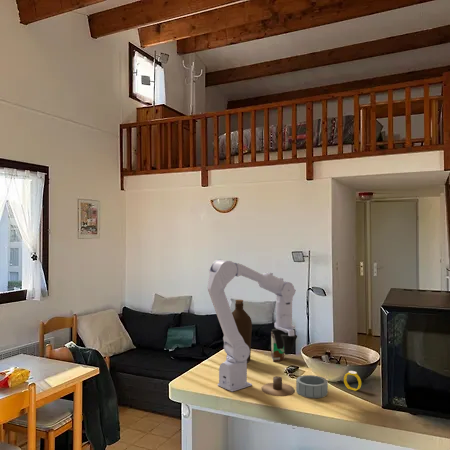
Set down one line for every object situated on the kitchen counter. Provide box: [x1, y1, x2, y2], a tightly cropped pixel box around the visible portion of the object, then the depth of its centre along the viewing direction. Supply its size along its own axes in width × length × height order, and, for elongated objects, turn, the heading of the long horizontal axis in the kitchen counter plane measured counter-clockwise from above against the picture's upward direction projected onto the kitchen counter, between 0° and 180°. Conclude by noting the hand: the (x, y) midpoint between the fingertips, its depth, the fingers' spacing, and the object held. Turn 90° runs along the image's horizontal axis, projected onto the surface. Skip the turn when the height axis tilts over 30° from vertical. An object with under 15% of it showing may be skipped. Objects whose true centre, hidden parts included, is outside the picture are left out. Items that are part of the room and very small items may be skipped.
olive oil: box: [231, 299, 253, 363], centre depth 178 cm, size 11×11×25 cm
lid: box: [260, 375, 295, 397], centre depth 145 cm, size 11×11×4 cm
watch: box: [343, 370, 362, 392], centre depth 146 cm, size 6×3×6 cm, turn 43°
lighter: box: [321, 354, 330, 362], centre depth 156 cm, size 7×2×8 cm, turn 38°
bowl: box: [295, 374, 329, 399], centre depth 143 cm, size 10×10×4 cm
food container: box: [270, 331, 285, 363], centre depth 181 cm, size 12×6×10 cm, turn 179°
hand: (283, 351), depth 156 cm, fingers open, 7 cm apart
